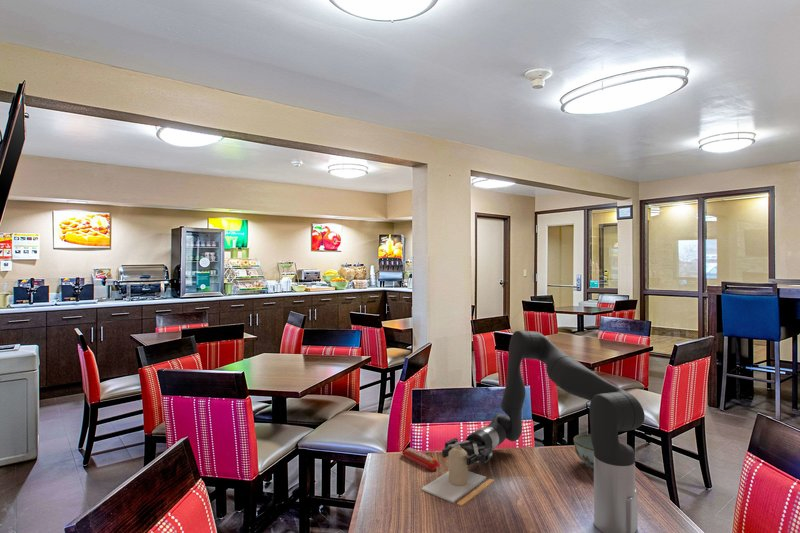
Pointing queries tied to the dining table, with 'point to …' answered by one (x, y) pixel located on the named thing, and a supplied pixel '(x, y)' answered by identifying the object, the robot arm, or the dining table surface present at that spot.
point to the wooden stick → (475, 492)
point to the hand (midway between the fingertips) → (455, 458)
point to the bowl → (585, 449)
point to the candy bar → (420, 458)
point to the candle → (458, 466)
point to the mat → (452, 486)
